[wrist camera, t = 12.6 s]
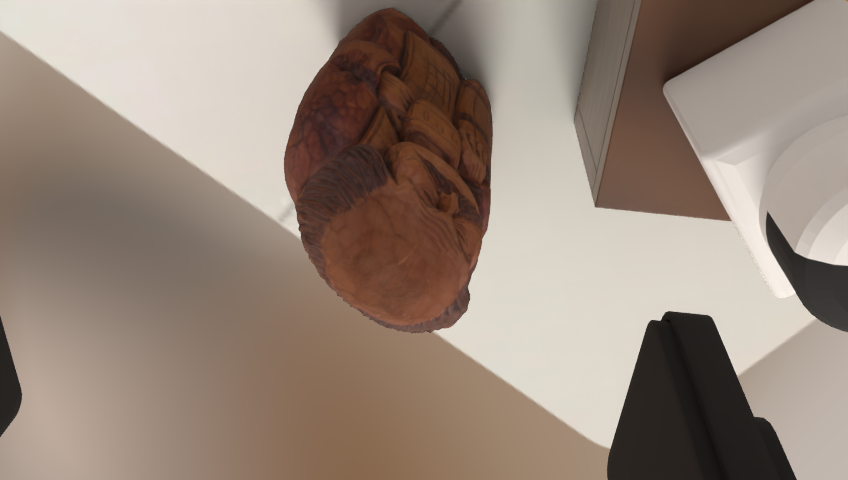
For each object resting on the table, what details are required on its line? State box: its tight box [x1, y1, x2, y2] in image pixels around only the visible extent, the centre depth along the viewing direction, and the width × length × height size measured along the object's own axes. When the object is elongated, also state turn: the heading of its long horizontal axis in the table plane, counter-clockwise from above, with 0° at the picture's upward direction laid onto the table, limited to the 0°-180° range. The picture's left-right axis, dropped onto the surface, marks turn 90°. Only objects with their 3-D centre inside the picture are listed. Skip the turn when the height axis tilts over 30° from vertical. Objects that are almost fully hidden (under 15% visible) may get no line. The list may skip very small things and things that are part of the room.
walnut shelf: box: [574, 0, 814, 221], centre depth 35 cm, size 11×13×10 cm
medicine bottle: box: [663, 0, 848, 332], centre depth 26 cm, size 7×7×12 cm
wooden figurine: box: [284, 8, 493, 333], centre depth 35 cm, size 12×6×18 cm, turn 42°
